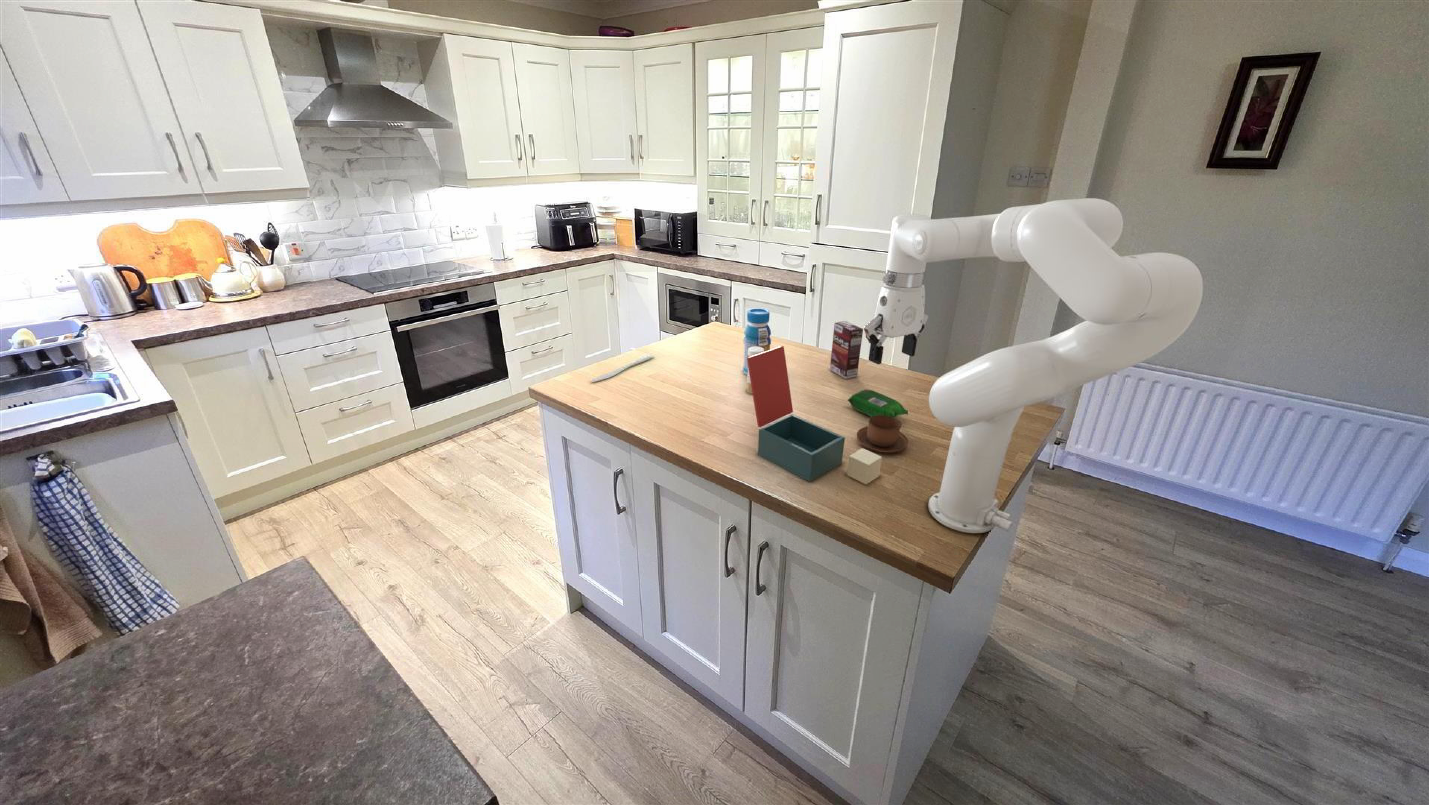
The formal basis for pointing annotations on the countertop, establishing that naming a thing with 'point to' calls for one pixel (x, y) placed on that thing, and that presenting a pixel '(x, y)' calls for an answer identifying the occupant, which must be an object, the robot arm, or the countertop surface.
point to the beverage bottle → (756, 332)
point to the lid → (770, 385)
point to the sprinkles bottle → (751, 352)
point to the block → (864, 466)
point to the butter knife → (621, 369)
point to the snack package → (876, 404)
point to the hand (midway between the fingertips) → (891, 358)
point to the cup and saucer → (883, 434)
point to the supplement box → (846, 349)
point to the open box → (801, 446)
